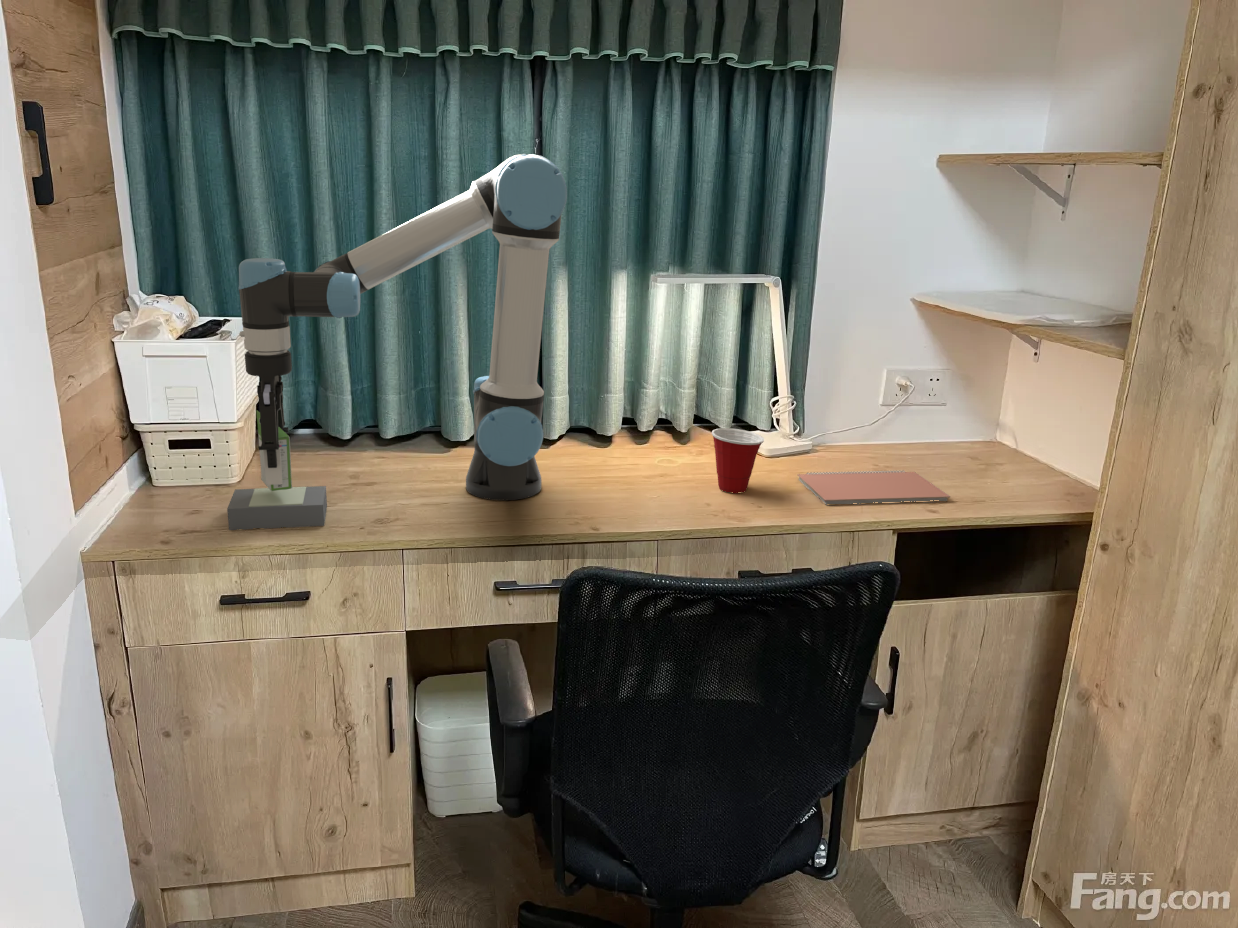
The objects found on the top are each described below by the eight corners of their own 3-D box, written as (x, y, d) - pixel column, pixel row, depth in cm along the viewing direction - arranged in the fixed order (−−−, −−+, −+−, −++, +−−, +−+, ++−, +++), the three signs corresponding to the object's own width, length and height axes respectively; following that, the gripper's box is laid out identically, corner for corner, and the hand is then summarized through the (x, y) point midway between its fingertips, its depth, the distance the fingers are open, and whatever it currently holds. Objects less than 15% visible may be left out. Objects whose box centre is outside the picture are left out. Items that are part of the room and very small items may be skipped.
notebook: (911, 477, 215) (912, 468, 214) (949, 504, 199) (950, 495, 199) (794, 480, 210) (795, 471, 209) (824, 507, 194) (825, 498, 194)
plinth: (327, 505, 183) (325, 484, 182) (324, 525, 174) (323, 503, 172) (236, 509, 179) (234, 488, 178) (229, 530, 170) (227, 507, 169)
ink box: (293, 489, 173) (288, 416, 169) (270, 492, 171) (265, 418, 166) (283, 477, 178) (278, 406, 174) (260, 480, 176) (255, 409, 172)
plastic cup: (769, 495, 199) (775, 438, 195) (723, 500, 195) (727, 443, 191) (743, 478, 208) (748, 424, 204) (698, 483, 204) (702, 428, 200)
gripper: (251, 339, 175) (261, 459, 183) (236, 363, 157) (247, 496, 164) (295, 338, 177) (302, 457, 184) (285, 363, 158) (294, 494, 165)
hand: (276, 475), depth 174 cm, fingers closed on ink box, 8 cm apart
